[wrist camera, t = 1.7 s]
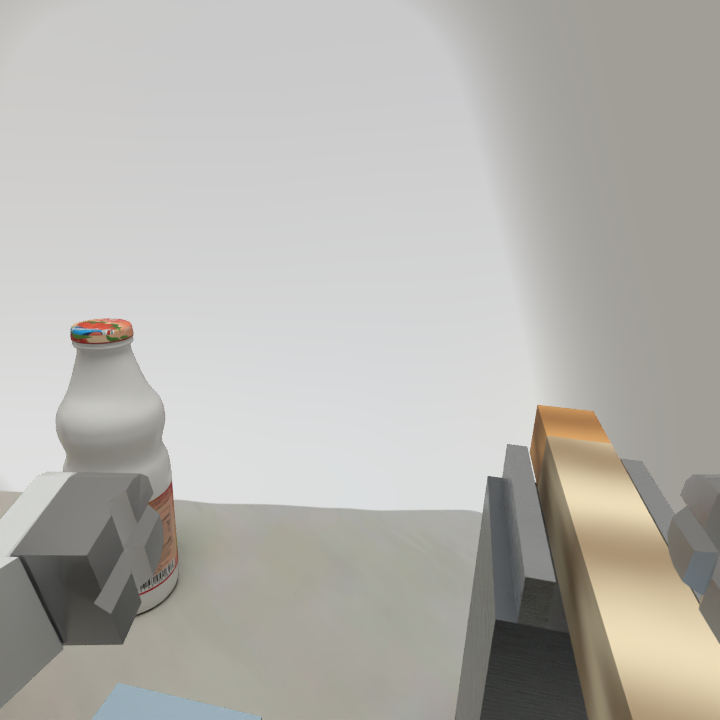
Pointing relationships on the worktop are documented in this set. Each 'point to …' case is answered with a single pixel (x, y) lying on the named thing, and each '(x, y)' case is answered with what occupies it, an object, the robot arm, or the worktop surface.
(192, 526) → the worktop surface
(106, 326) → the fruit juice
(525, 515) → the housing tower
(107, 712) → the pale blue brick
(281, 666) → the worktop surface
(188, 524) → the worktop surface
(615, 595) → the tan wooden bar
